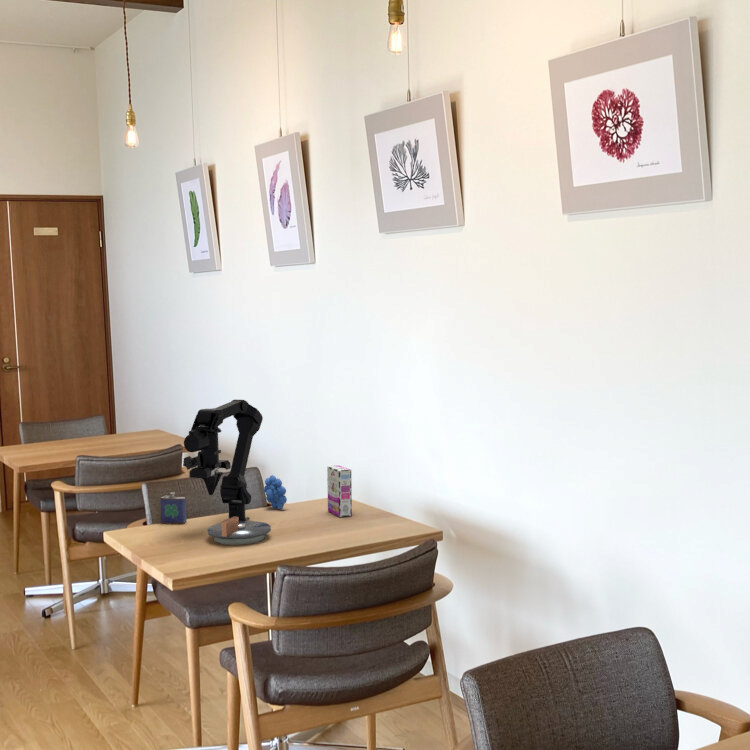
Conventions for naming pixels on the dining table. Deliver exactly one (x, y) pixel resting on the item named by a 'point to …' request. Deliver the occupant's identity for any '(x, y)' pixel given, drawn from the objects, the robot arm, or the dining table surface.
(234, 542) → the valve base
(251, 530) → the grey disc with hub
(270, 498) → the grapes
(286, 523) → the dining table surface
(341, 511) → the candy bar box
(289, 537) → the dining table surface
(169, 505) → the flask
